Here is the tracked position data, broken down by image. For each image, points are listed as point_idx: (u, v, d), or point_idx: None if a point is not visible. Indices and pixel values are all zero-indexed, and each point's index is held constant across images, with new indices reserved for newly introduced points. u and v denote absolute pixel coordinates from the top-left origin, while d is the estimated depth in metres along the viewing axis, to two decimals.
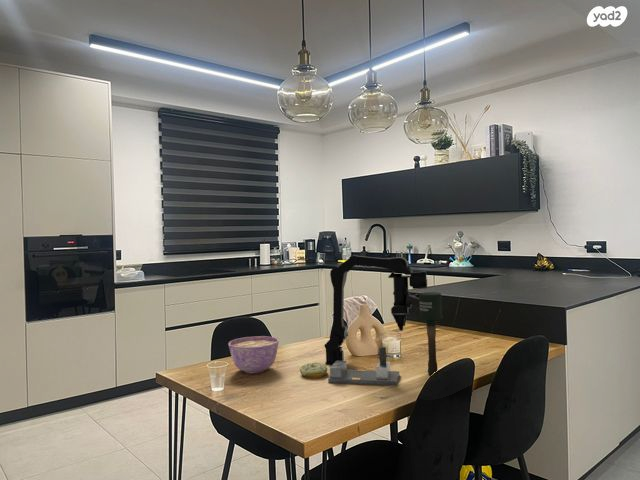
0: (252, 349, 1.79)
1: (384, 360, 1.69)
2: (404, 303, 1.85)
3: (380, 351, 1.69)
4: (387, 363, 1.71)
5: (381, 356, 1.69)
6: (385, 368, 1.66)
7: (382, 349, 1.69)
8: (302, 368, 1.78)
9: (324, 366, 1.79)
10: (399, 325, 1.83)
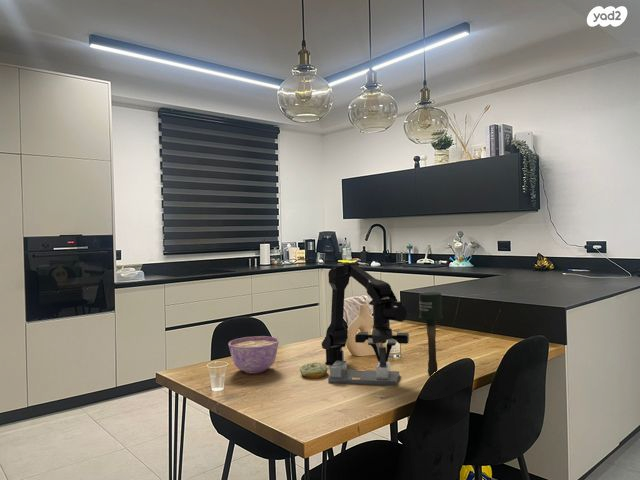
0: (252, 349, 1.79)
1: (384, 360, 1.69)
2: None
3: (380, 351, 1.69)
4: (387, 363, 1.71)
5: (381, 356, 1.69)
6: (385, 368, 1.66)
7: (382, 349, 1.69)
8: (302, 368, 1.78)
9: (324, 366, 1.79)
10: None
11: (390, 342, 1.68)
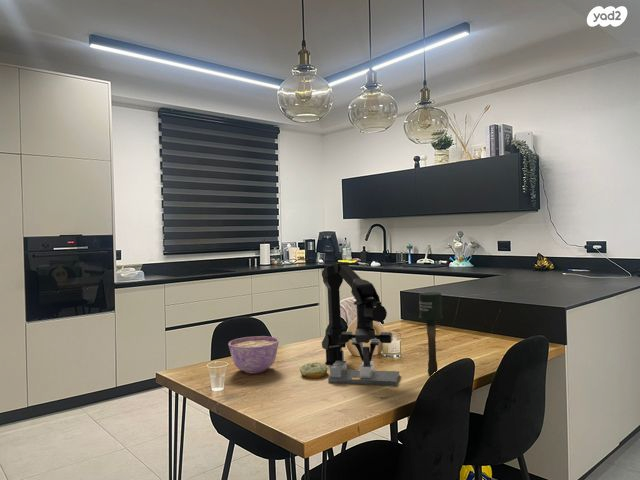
0: (252, 349, 1.79)
1: (368, 359, 1.70)
2: None
3: (364, 351, 1.71)
4: (371, 362, 1.72)
5: (365, 355, 1.70)
6: (368, 367, 1.67)
7: (366, 349, 1.70)
8: (302, 368, 1.78)
9: (324, 366, 1.79)
10: None
11: (373, 342, 1.69)
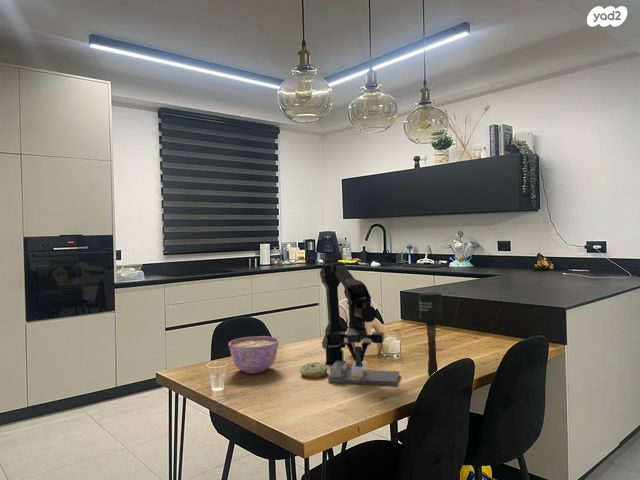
0: (252, 349, 1.79)
1: (360, 359, 1.71)
2: None
3: (356, 350, 1.72)
4: (363, 362, 1.73)
5: (357, 355, 1.71)
6: (360, 367, 1.68)
7: (358, 349, 1.71)
8: (302, 368, 1.78)
9: (324, 366, 1.79)
10: None
11: (365, 341, 1.70)
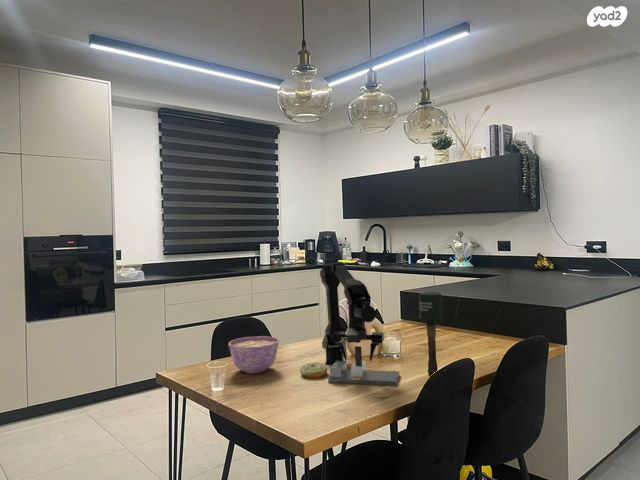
0: (252, 349, 1.79)
1: (359, 359, 1.71)
2: None
3: (355, 350, 1.72)
4: (363, 362, 1.73)
5: (357, 355, 1.71)
6: (360, 367, 1.68)
7: (358, 349, 1.71)
8: (302, 368, 1.78)
9: (324, 366, 1.79)
10: None
11: None
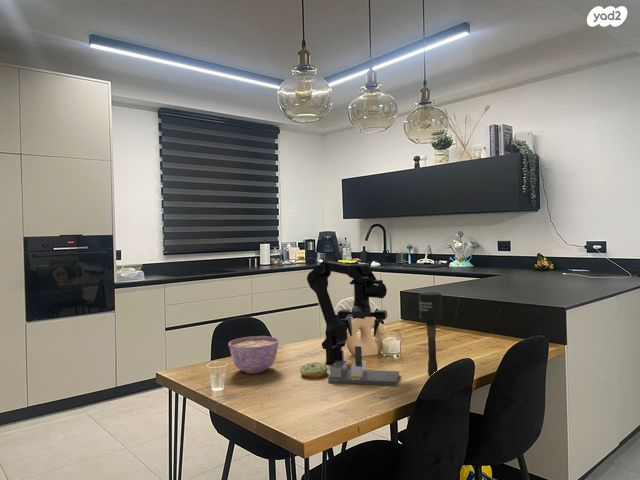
0: (252, 349, 1.79)
1: (359, 359, 1.71)
2: None
3: (355, 350, 1.72)
4: (363, 362, 1.73)
5: (357, 355, 1.71)
6: (360, 367, 1.68)
7: (358, 349, 1.71)
8: (302, 368, 1.78)
9: (324, 366, 1.79)
10: None
11: None
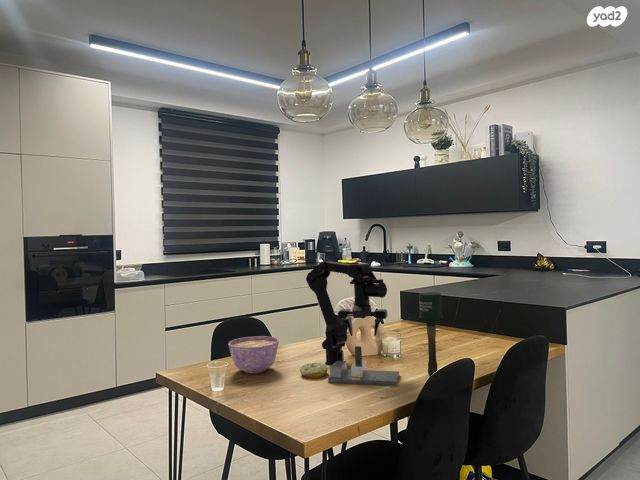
0: (252, 349, 1.79)
1: (359, 359, 1.71)
2: None
3: (355, 350, 1.72)
4: (363, 362, 1.73)
5: (357, 355, 1.71)
6: (360, 367, 1.68)
7: (358, 349, 1.71)
8: (302, 368, 1.78)
9: (324, 366, 1.79)
10: None
11: None
